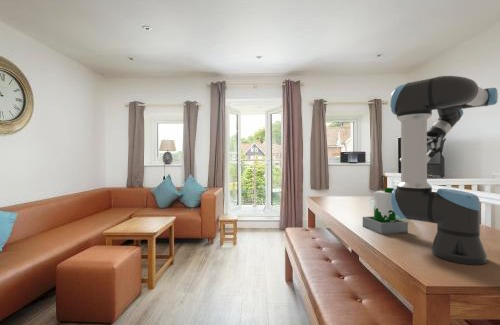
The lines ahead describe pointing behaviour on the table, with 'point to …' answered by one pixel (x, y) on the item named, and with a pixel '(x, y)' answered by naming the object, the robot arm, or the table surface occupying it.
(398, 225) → the tray
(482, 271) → the table surface
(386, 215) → the soya milk
